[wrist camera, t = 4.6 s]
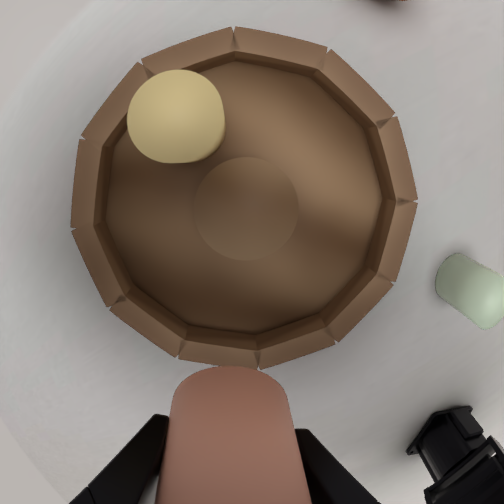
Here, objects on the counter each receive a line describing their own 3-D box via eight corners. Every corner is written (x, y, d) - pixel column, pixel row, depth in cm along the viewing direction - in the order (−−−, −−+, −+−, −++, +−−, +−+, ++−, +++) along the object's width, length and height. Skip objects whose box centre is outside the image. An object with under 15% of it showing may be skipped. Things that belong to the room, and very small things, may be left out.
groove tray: (346, 355, 20) (358, 376, 18) (88, 316, 18) (73, 335, 16) (414, 96, 16) (436, 91, 13) (123, 35, 14) (109, 20, 11)
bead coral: (273, 445, 9) (292, 566, 5) (170, 434, 9) (153, 561, 4) (301, 372, 8) (348, 523, 4) (175, 356, 8) (142, 519, 3)
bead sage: (459, 300, 20) (498, 330, 15) (428, 296, 20) (468, 329, 15) (474, 257, 19) (518, 280, 14) (444, 249, 19) (490, 273, 14)
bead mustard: (219, 167, 16) (212, 170, 11) (152, 157, 15) (119, 157, 10) (232, 101, 15) (232, 76, 10) (165, 92, 14) (138, 66, 9)
